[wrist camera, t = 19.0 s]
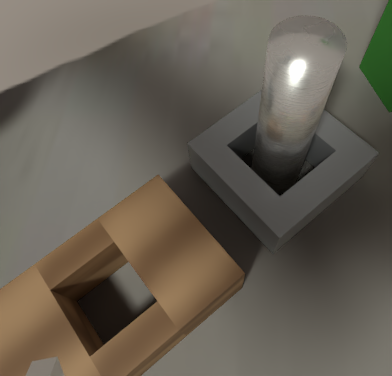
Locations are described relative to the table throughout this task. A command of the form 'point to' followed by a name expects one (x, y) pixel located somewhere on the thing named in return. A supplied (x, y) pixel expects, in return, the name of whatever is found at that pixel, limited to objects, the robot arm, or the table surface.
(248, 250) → the table surface
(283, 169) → the translucent white cylinder
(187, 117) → the table surface
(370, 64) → the hardback book
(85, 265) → the tan hollow box
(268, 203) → the socket
